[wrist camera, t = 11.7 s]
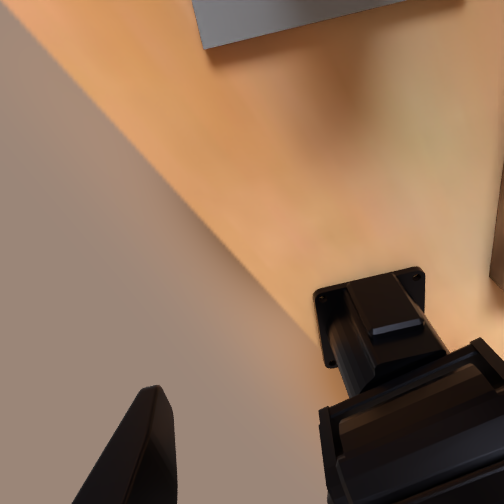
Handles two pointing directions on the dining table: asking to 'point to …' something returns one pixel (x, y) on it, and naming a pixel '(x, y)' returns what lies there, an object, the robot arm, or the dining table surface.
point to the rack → (499, 243)
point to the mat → (267, 16)
